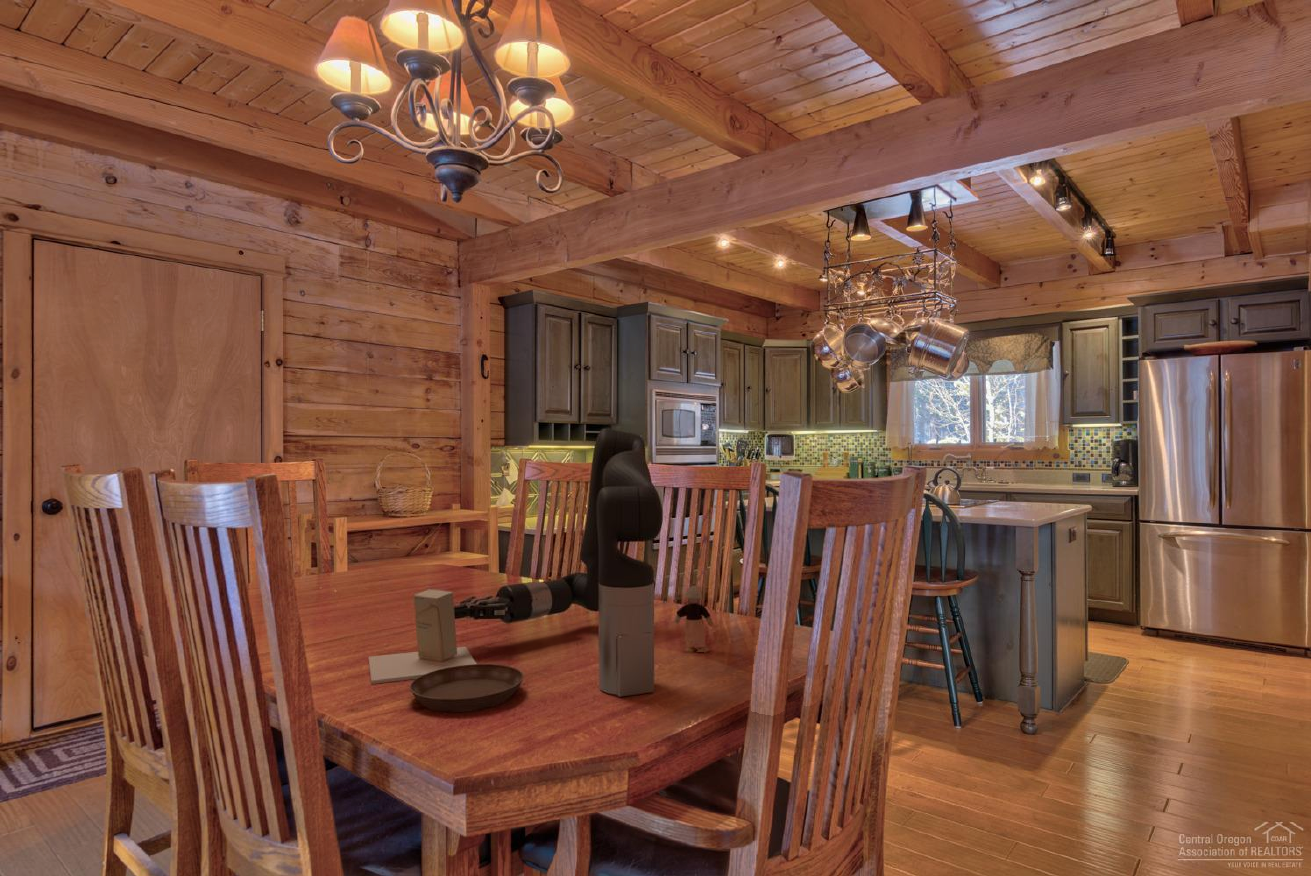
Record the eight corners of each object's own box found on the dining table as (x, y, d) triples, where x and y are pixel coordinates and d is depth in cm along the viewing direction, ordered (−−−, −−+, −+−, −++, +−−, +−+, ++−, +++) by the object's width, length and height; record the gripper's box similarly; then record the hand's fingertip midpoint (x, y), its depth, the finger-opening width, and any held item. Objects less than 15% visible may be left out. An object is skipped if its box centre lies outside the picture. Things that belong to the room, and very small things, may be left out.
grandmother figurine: (713, 648, 148) (713, 584, 148) (713, 653, 144) (712, 587, 145) (675, 647, 149) (674, 583, 149) (673, 652, 145) (673, 587, 145)
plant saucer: (407, 723, 109) (407, 702, 109) (411, 686, 126) (411, 668, 126) (529, 710, 114) (529, 690, 114) (518, 677, 131) (517, 659, 131)
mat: (479, 671, 134) (479, 667, 134) (371, 684, 127) (371, 680, 127) (465, 649, 148) (465, 646, 148) (368, 659, 141) (368, 656, 141)
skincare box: (417, 658, 140) (411, 595, 139) (435, 649, 144) (429, 588, 143) (442, 662, 137) (436, 598, 136) (459, 653, 141) (453, 591, 140)
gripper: (507, 579, 158) (430, 589, 147) (542, 587, 149) (462, 599, 137) (507, 614, 158) (429, 627, 147) (542, 625, 149) (462, 640, 137)
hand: (446, 613), depth 142 cm, fingers closed
